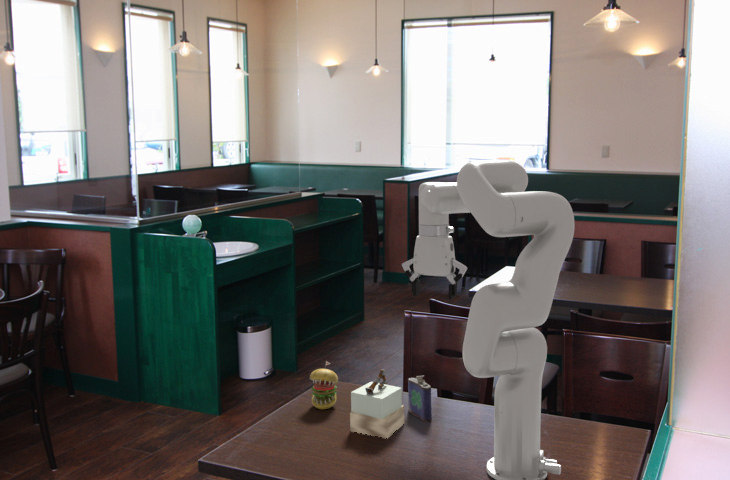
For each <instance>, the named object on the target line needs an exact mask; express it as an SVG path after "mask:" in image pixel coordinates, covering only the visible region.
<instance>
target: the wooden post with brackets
mask: <svg viewBox="0 0 730 480" xmlns="http://www.w3.org/2000/svg"><path fill="white" fill-rule="evenodd" d="M385 374H386V368H383V369H382V368H381V369H380V370H379V372H378V375H377V376H376V377H375V378H374V380H373V381H372V382H373V383H372V384H371V386H370V387H368V388H367V387H366V388H365V389H366V392H367V394H370V395H373V394H374V393H373V391H374V388H375V386H376V385H378V383H380V384H379V385H378V389H382V387H383V386H384V384H386V385H388V380H387V378H386V375H385ZM381 379H382V382H380V381H381Z"/></svg>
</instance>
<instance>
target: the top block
mask: <svg viewBox="0 0 730 480" xmlns="http://www.w3.org/2000/svg"><path fill="white" fill-rule="evenodd" d="M372 383H373V381H370V382H367V383H366V384H364V385H362V386H360V387H358V388H356V389H355V390H352V391H351V392H350V406H351V407H350V408H351V412H354V413H359V414H363V415H367V416H371V417H375V418H379V419H384V418H385V417H387V416H388V415H390V414H392V413H393V412H395V411H396V410H398V409H400V408H401V407H402V405H403V400H402V399H403V398H402V397H403V393H402V390H403V389H402V387H400V386H395V385H389V384H384V386H383V387H382V389H378V385H379V384H380V383H381V382H379V383H378V385H376V386H375V388H374V391H373V393H374V394H373V395H370V394H367V392H366V389H365V388H366V387H367V388H368V387H370V386H371V384H372ZM351 412H350V413H351Z"/></svg>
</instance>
